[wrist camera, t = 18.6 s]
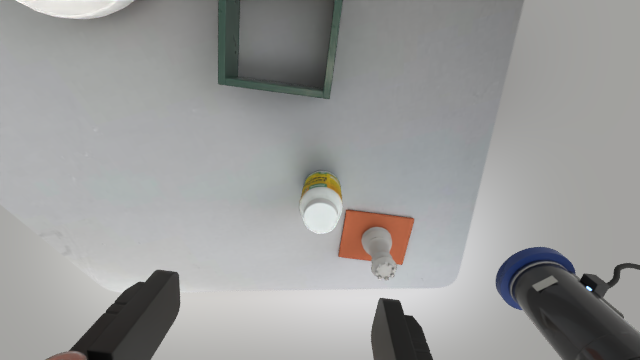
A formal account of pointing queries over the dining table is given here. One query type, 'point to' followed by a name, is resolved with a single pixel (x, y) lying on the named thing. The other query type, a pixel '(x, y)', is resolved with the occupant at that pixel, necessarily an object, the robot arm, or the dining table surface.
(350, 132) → the dining table surface
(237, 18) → the holder
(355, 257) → the mat
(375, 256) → the rook chess piece
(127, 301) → the robot arm
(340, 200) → the supplement bottle
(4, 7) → the dining table surface
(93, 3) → the bowl
